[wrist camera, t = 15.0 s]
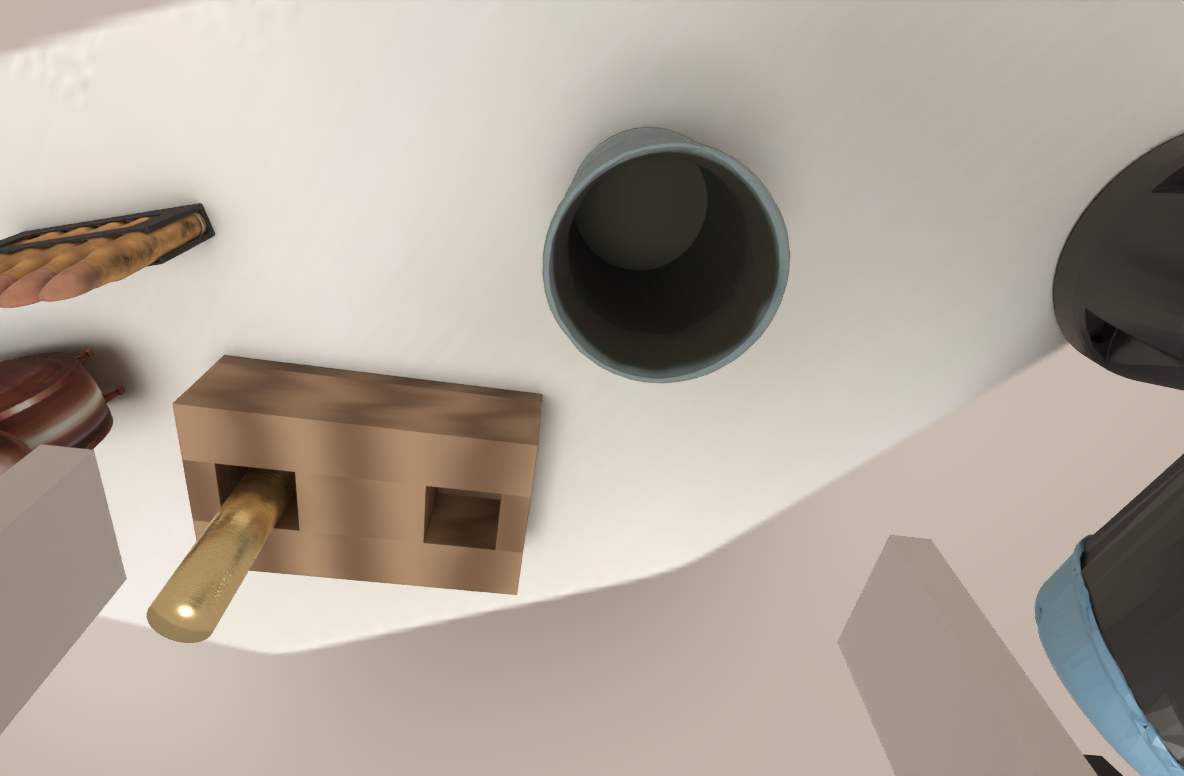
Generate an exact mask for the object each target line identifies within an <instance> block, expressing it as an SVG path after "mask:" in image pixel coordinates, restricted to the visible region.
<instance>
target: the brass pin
mask: <svg viewBox="0 0 1184 776" xmlns="http://www.w3.org/2000/svg"><path fill="white" fill-rule="evenodd" d="M295 490H296V477H295V472H292V471H282V470H273V469H264V468H254V467H249V469H248V470H247V472H246V473H245V474H244V476H243V477H242V479H241V480H240V481H239V483H238V484H237V486H236V487H235V488H234V490H233V491H232V493H231V494H230V495H229V497H228V498H227V500H226V501H225V502H224V504H223V505H222V507H221V508H220V509H219V511H218V512H217V514H216V515H215V516H214V518H213V519H212V521H211V522H210V523H209V525H208V526H207V528H206V529H205V530H204V532H203V533H202V535H201V536H200V537H199V539H198V540H197V542H196V543H195V544H194V546H193V547H192V549H191V550H190V551H189V553H188V554H187V556H186V557H185V558H184V560H183V561H182V563H181V564H180V565H179V567H178V568H177V570H176V571H175V572H174V574H173V575H172V577H171V578H170V579H169V581H168V582H167V584H166V585H165V586H164V588H163V589H162V591H161V592H160V593H159V595H158V596H157V598H156V599H155V600H154V602H153V603H152V605H151V606H150V607H149V609H148V611H147V620H148V622H149V624H150V626H151V627H152V628H153V629H154V630H155V631H156V632H157V633H159V634H160V635H162V636H164V637H166V638H168V639H171V640H173V641H178V642H183V643H195V642H200V641H203V640H205V639H207V638H208V637H210V635H211V634H212V633H213V631H214V629H215V627H216V626H217V624H218V622H219V621H220V619H221V617H222V615H223V614H224V612H225V610H226V609H227V607H228V605H229V603H230V602H231V600H232V598H233V597H234V595H235V593H236V591H237V590H238V588H239V586H240V585H241V583H242V581H243V579H244V578H245V576H246V574H247V573H248V571H249V569H250V567H251V566H252V564H253V562H254V561H255V559H256V557H257V555H258V554H259V552H260V550H261V549H262V547H263V545H264V543H265V542H266V540H267V538H268V536H269V535H270V533H271V531H272V530H273V528H274V526H275V524H276V523H277V521H278V519H279V518H280V516H281V514H282V512H283V511H284V509H285V507H286V506H287V504H288V502H289V500H290V499H291V497H292V495H293V494H294V492H295Z"/></svg>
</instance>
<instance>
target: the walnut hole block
mask: <svg viewBox="0 0 1184 776" xmlns="http://www.w3.org/2000/svg"><path fill="white" fill-rule="evenodd" d="M541 402H542V394H535V393H526V392H518V391H510V390H502V389H494V388H486V387H477V386H469V385H461V384H453V383H445V382H437V381H429V380H420V379H412V378H404V377H396V376H388V375H380V374H371V373H363V372H355V371H347V370H339V369H331V368H323V367H314V366H306V365H298V364H290V363H282V362H274V361H265V360H257V359H249V358H241V357H233V356H225V355H224V356H223V357H222V358H221V359H220V360H219V361H218V362H217V363H215V364H214V365H213V366H212V367H211V368H210V369H209V370H208V371H207V372H206V373H205V374H204V375H203V376H202V377H200V378H199V379H198V380H197V381H196V382H195V383H194V384H193V385H192V386H191V387H190V388H189V389H188V390H187V391H186V392H184V393H183V394H182V395H181V396H180V397H179V398H178V399H177V400H176V401H175V402H174V403H173V410H174V416H175V421H176V427H177V433H178V438H179V444H180V450H181V455H182V461H183V467H184V472H185V478H186V484H187V489H188V495H189V501H190V506H191V512H192V518H193V523H194V529H195V535H196V541H197V540H198V539H199V537H200V536H201V535H202V533H203V532H204V530H205V529H206V528H207V526H208V525H209V523H210V522H211V521H212V519H213V518H214V516H215V515H216V514H217V512H218V511H219V509H220V508H221V507H222V505H223V504H224V502H225V501H226V500H227V498H228V497H229V495H230V494H231V493H232V491H233V490H234V488H235V487H236V486H237V484H238V483H239V481H240V480H241V479H242V477H243V476H244V474H245V473H246V472H247V470H248V469H249V467H254V468H264V469H273V470H282V471H292V472H295V477H296V490H295V492H294V494H293V495H292V497H291V499H290V500H289V502H288V504H287V506H286V507H285V509H284V511H283V512H282V514H281V516H280V518H279V519H278V521H277V523H276V524H275V526H274V528H273V530H272V531H271V533H270V535H269V536H268V538H267V540H266V542H265V543H264V545H263V547H262V549H261V550H260V552H259V554H258V555H257V557H256V559H255V561H254V562H253V564H252V566H251V567H250V569H249V571H260V572H271V573H282V574H293V575H304V576H315V577H325V578H336V579H347V580H358V581H369V582H380V583H391V584H402V585H413V586H424V587H435V588H446V589H457V590H468V591H479V592H490V593H501V594H511V595H517V591H518V584H519V577H520V570H521V563H522V556H523V549H524V541H525V534H526V527H527V520H528V513H529V506H530V499H531V492H532V485H533V477H534V470H535V463H536V456H537V449H538V439H539V427H540V414H541Z"/></svg>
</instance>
